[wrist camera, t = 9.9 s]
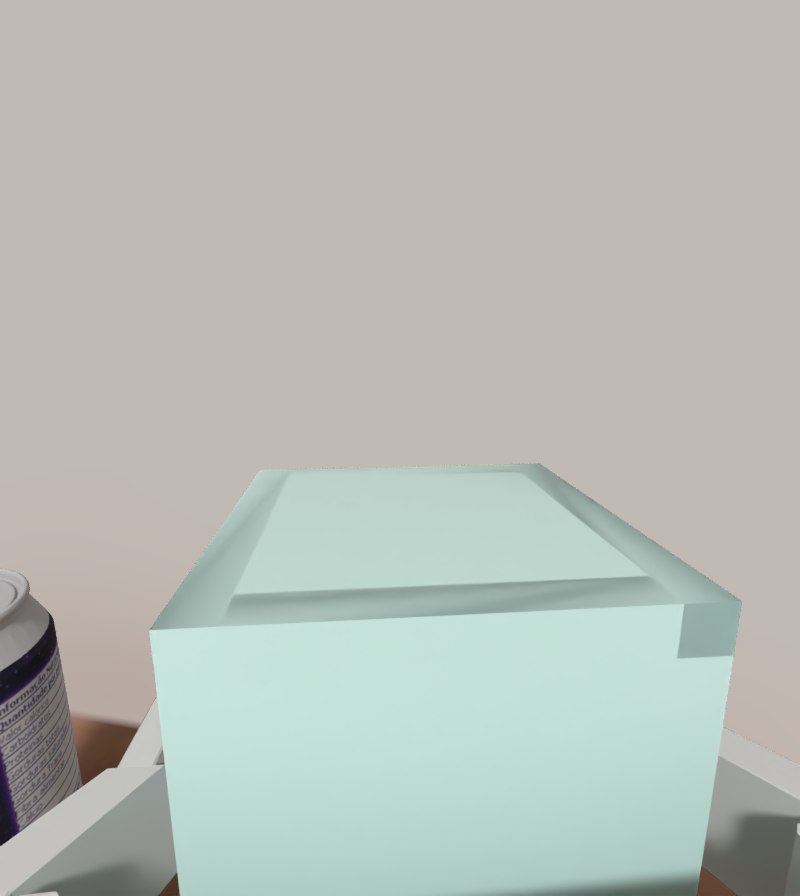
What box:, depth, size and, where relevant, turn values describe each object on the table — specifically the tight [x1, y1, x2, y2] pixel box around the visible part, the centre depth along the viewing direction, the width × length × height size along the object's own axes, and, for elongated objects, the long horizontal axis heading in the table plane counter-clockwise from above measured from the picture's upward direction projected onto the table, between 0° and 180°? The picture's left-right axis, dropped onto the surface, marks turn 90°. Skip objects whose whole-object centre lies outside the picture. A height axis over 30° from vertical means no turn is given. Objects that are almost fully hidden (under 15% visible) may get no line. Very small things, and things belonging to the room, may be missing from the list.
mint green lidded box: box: [149, 464, 742, 896], centre depth 8 cm, size 6×6×9 cm
